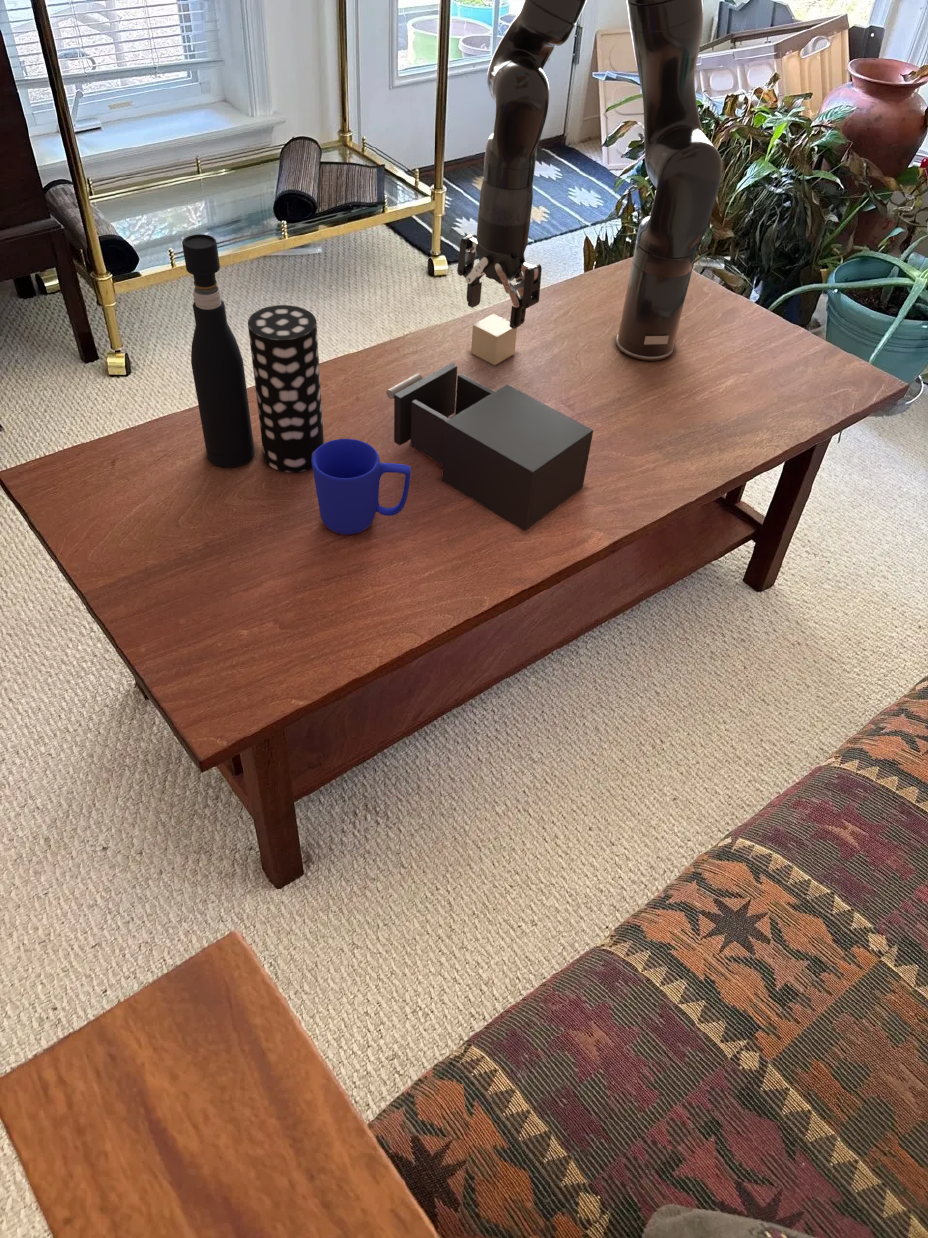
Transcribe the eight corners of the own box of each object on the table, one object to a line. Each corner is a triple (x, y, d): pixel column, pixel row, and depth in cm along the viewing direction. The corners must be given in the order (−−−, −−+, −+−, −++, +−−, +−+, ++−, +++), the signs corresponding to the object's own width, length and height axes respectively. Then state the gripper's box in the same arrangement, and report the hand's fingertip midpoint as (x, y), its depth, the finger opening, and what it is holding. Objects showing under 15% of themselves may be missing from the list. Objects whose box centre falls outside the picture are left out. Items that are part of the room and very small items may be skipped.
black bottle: (215, 472, 127) (179, 258, 105) (201, 446, 131) (163, 233, 109) (261, 461, 129) (235, 248, 108) (245, 435, 133) (217, 224, 111)
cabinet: (441, 480, 129) (444, 421, 122) (501, 441, 136) (507, 383, 129) (524, 531, 123) (532, 472, 116) (582, 487, 129) (593, 429, 122)
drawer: (372, 429, 134) (372, 381, 129) (427, 397, 141) (429, 350, 135) (466, 485, 127) (469, 438, 121) (519, 449, 133) (525, 402, 127)
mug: (407, 545, 120) (409, 483, 112) (312, 540, 119) (307, 477, 112) (411, 503, 125) (413, 441, 118) (320, 498, 125) (315, 435, 118)
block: (470, 352, 151) (472, 324, 148) (491, 341, 154) (493, 313, 150) (494, 365, 149) (497, 336, 146) (514, 353, 152) (517, 325, 148)
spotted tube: (292, 428, 135) (280, 298, 120) (336, 451, 132) (330, 320, 117) (250, 456, 130) (233, 323, 116) (296, 480, 127) (284, 347, 112)
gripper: (560, 221, 134) (545, 325, 146) (484, 188, 140) (475, 290, 152) (526, 236, 130) (514, 342, 142) (450, 201, 136) (444, 306, 148)
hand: (494, 315), depth 147 cm, fingers open, 8 cm apart
